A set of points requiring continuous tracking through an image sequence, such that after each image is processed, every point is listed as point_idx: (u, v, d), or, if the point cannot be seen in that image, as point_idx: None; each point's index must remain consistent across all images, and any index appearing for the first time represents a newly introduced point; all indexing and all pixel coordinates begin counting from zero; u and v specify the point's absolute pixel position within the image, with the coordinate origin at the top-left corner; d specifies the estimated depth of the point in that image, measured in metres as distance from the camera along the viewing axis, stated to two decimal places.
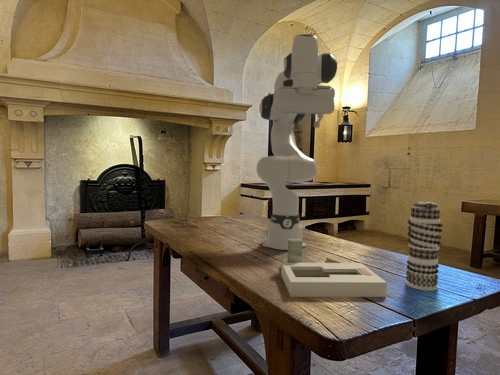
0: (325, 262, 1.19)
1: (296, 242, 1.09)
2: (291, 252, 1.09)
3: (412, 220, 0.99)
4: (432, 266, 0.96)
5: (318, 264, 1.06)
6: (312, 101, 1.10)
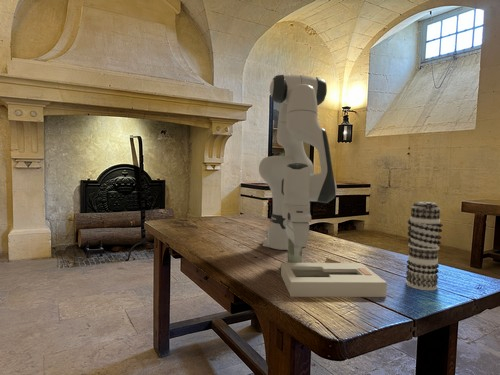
0: (325, 262, 1.19)
1: None
2: (291, 252, 1.09)
3: (412, 220, 0.99)
4: (432, 266, 0.96)
5: (318, 264, 1.06)
6: None
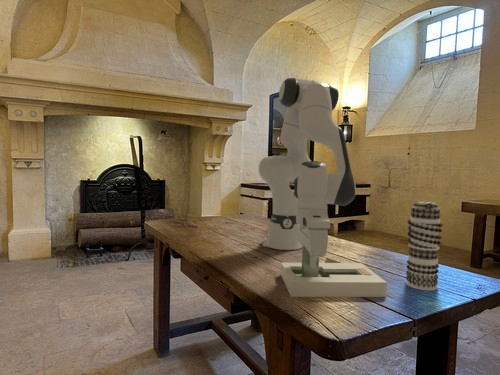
0: (325, 262, 1.19)
1: None
2: (306, 261, 0.96)
3: (412, 220, 0.99)
4: (432, 266, 0.96)
5: None
6: None
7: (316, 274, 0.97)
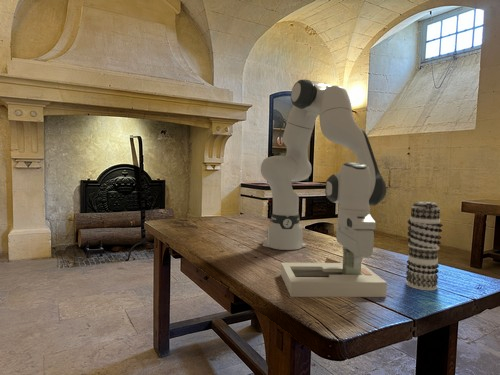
0: (325, 262, 1.19)
1: None
2: (349, 264, 0.97)
3: (412, 220, 0.99)
4: (432, 266, 0.96)
5: (318, 264, 1.06)
6: None
7: None
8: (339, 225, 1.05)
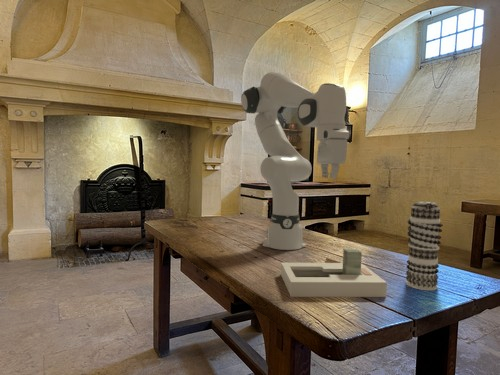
0: (325, 262, 1.19)
1: (354, 253, 0.97)
2: (349, 264, 0.97)
3: (412, 220, 0.99)
4: (432, 266, 0.96)
5: (318, 264, 1.06)
6: None
7: None
8: (319, 146, 1.14)
